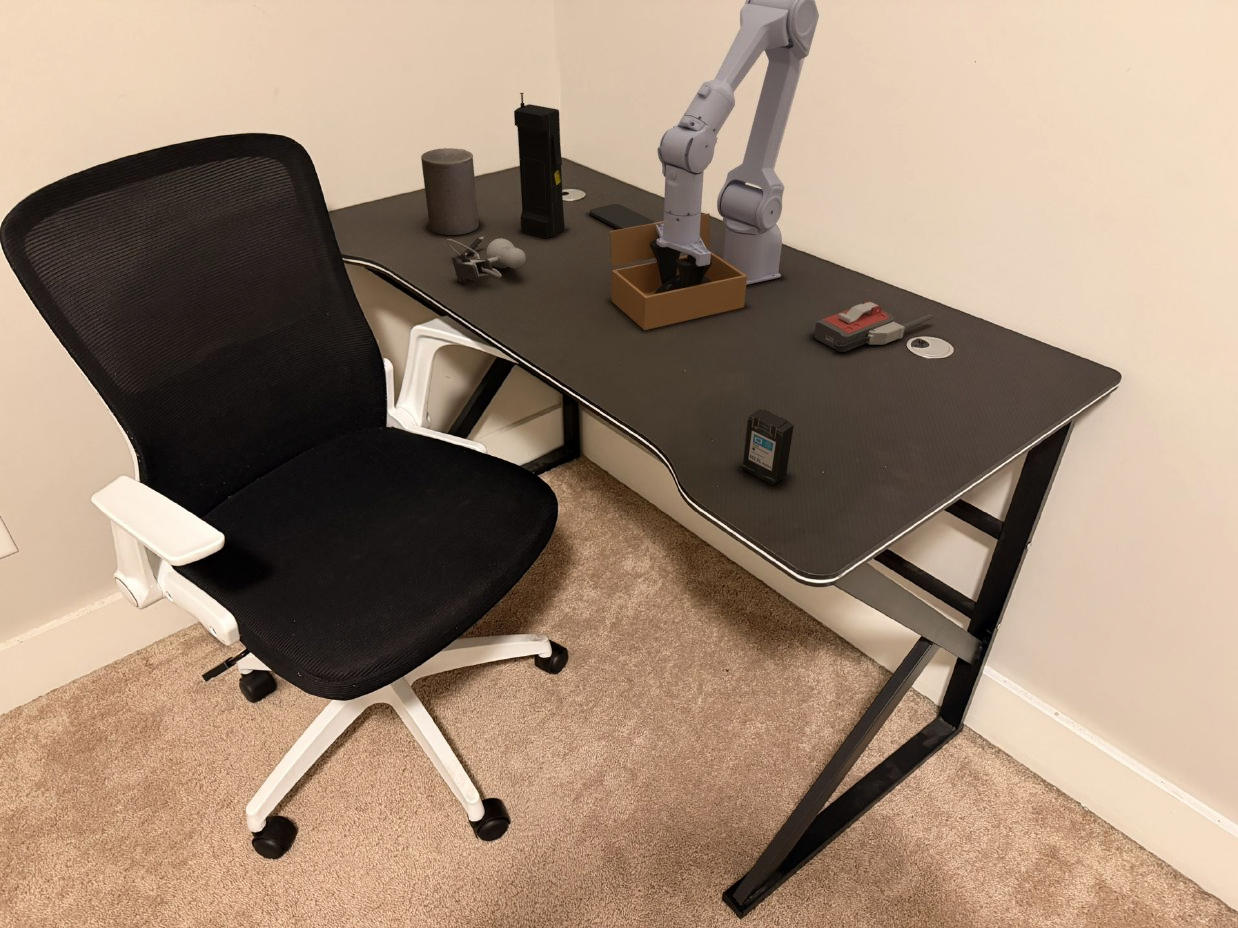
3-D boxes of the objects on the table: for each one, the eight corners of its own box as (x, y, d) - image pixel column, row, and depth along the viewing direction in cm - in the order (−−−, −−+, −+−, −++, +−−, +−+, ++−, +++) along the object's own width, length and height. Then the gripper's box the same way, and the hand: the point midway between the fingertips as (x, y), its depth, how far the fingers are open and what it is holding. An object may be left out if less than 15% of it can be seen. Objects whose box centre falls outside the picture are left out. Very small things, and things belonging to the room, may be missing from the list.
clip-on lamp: (439, 274, 158) (473, 291, 143) (429, 240, 155) (462, 253, 140) (498, 256, 162) (536, 270, 147) (489, 222, 159) (527, 233, 145)
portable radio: (571, 230, 168) (567, 94, 153) (552, 240, 164) (547, 101, 149) (538, 222, 171) (532, 88, 157) (519, 232, 167) (511, 95, 153)
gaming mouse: (630, 305, 140) (631, 282, 138) (699, 282, 147) (700, 260, 145) (655, 319, 136) (656, 295, 134) (724, 295, 143) (726, 272, 141)
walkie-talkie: (847, 362, 127) (935, 326, 136) (852, 335, 124) (941, 301, 134) (804, 339, 133) (891, 306, 142) (808, 313, 130) (896, 281, 140)
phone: (617, 203, 178) (661, 224, 168) (617, 207, 179) (661, 228, 169) (587, 210, 175) (630, 232, 165) (587, 214, 175) (630, 236, 165)
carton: (644, 330, 135) (645, 297, 132) (611, 301, 143) (611, 270, 140) (744, 307, 142) (747, 275, 138) (707, 280, 150) (709, 250, 147)
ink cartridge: (741, 469, 106) (747, 414, 101) (752, 461, 107) (759, 406, 102) (774, 486, 103) (782, 430, 98) (785, 478, 104) (794, 423, 99)
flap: (610, 231, 137) (609, 231, 137) (612, 266, 139) (611, 266, 140) (709, 213, 143) (708, 213, 144) (709, 247, 146) (709, 247, 146)
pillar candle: (419, 231, 167) (409, 152, 158) (446, 215, 174) (437, 138, 166) (463, 239, 164) (455, 158, 155) (488, 222, 172) (482, 144, 163)
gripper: (637, 199, 137) (635, 279, 145) (683, 229, 126) (679, 314, 134) (676, 192, 139) (672, 271, 147) (724, 222, 129) (717, 305, 137)
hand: (678, 291), depth 141 cm, fingers closed on gaming mouse, 6 cm apart
